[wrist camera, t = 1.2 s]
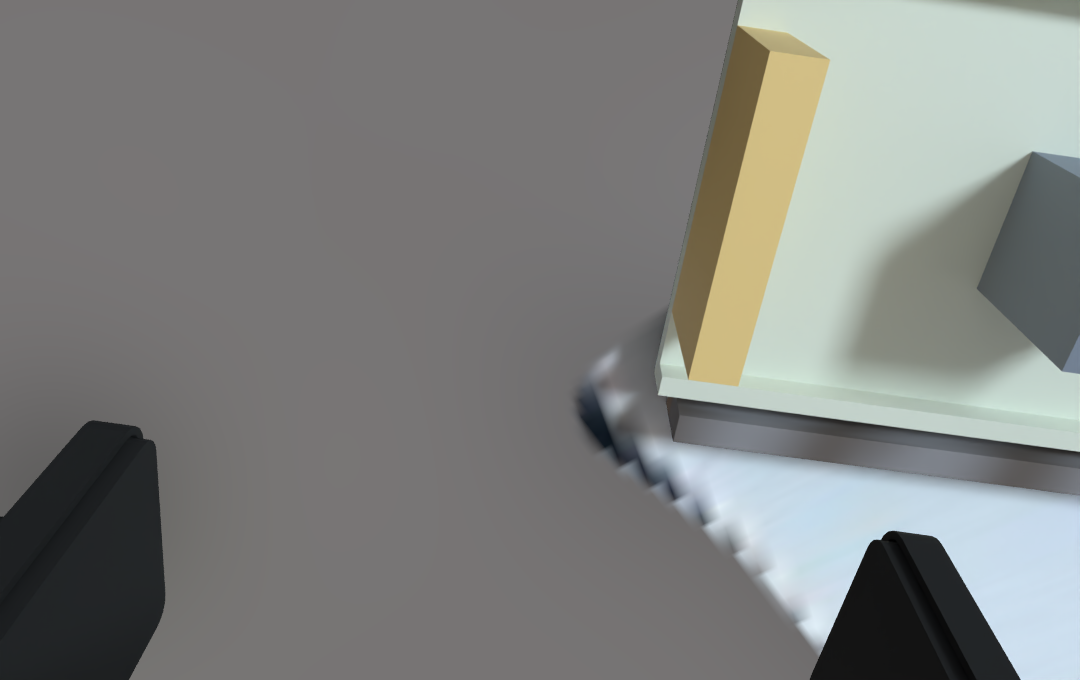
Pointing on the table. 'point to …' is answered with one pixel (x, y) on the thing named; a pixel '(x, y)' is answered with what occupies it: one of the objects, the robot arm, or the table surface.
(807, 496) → the table surface
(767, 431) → the guide base
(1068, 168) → the slate block
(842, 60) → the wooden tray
